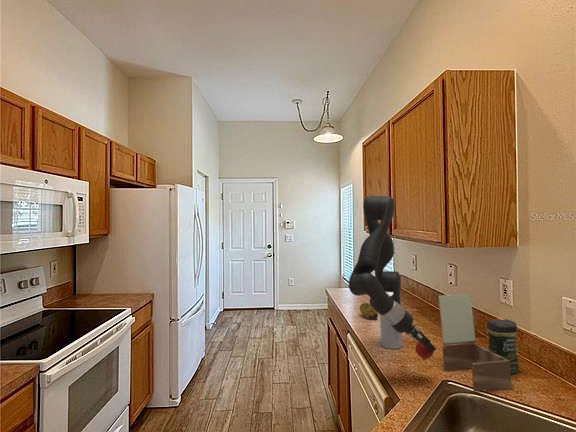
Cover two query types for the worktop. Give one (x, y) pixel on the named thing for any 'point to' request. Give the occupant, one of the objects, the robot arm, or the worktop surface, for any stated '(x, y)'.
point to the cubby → (479, 366)
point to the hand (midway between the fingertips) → (428, 347)
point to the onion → (423, 351)
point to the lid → (456, 319)
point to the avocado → (368, 311)
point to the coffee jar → (504, 341)
